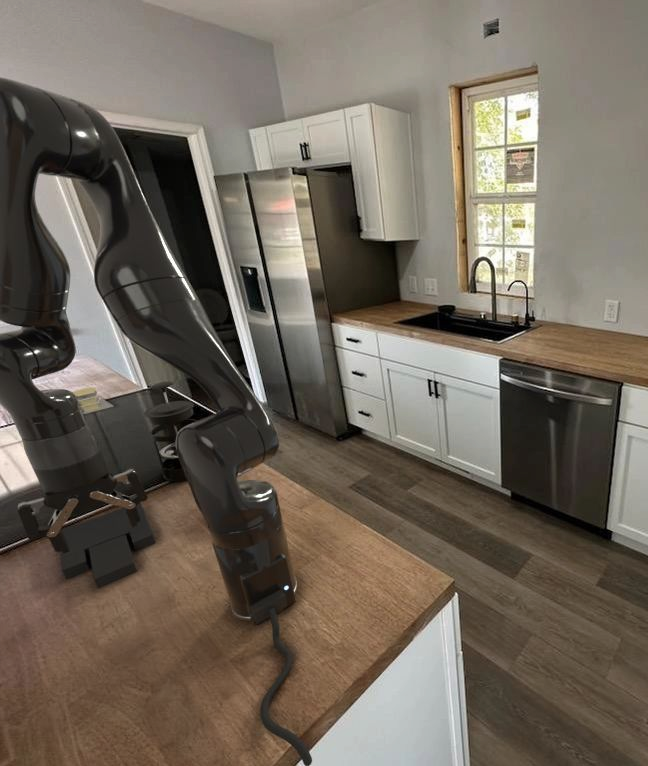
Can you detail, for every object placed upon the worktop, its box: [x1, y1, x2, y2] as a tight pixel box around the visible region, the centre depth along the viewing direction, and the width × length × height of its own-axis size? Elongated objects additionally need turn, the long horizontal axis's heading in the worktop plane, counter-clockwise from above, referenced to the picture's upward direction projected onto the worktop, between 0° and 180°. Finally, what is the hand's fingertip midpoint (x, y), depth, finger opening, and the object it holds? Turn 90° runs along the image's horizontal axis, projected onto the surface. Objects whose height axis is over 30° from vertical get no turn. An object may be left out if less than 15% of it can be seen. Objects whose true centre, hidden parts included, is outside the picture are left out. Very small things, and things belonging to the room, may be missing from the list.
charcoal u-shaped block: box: [59, 502, 157, 580], centre depth 78 cm, size 14×12×2 cm
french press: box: [143, 381, 198, 483], centre depth 96 cm, size 12×9×23 cm
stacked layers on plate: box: [71, 386, 115, 415], centre depth 131 cm, size 10×9×6 cm
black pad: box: [89, 535, 138, 589], centre depth 73 cm, size 10×5×2 cm, turn 47°
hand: (101, 536), depth 71 cm, fingers open, 8 cm apart
